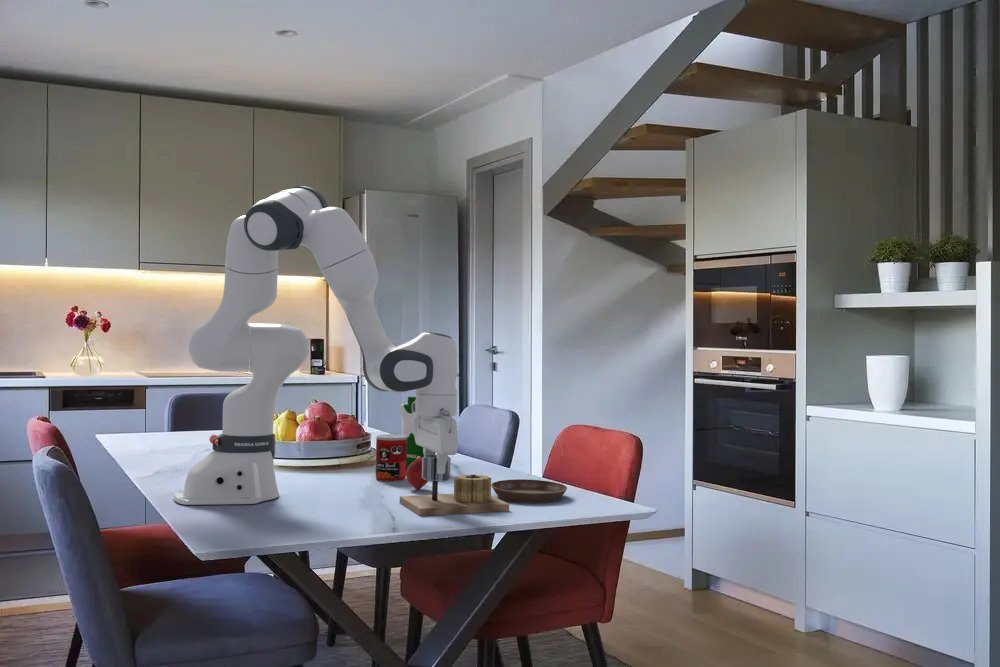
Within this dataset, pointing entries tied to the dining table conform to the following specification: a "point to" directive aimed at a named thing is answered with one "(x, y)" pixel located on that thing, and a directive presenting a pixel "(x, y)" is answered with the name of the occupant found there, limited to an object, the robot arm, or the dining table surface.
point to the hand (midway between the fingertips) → (434, 471)
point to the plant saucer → (529, 490)
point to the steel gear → (429, 469)
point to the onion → (416, 474)
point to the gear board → (457, 498)
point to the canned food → (391, 457)
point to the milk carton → (410, 432)
